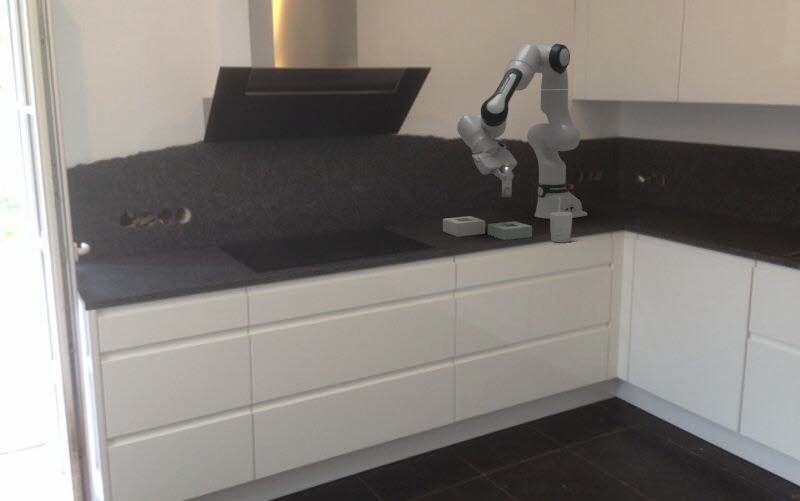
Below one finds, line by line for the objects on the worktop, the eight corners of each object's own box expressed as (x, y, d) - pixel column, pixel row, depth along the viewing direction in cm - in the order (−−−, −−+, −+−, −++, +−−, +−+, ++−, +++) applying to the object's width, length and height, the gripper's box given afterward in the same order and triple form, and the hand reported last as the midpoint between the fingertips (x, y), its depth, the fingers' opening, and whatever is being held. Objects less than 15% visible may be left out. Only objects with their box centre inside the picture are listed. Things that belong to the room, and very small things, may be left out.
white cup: (553, 238, 274) (554, 211, 272) (574, 239, 270) (575, 212, 268) (546, 242, 268) (546, 214, 265) (567, 243, 264) (568, 216, 261)
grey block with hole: (470, 228, 296) (470, 216, 295) (485, 233, 285) (485, 220, 284) (443, 231, 291) (442, 218, 290) (457, 236, 281) (457, 223, 279)
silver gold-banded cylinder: (508, 195, 280) (508, 163, 277) (513, 196, 276) (513, 164, 274) (500, 196, 278) (500, 164, 276) (505, 197, 275) (505, 164, 272)
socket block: (514, 231, 288) (515, 221, 287) (532, 236, 277) (532, 226, 276) (487, 234, 283) (487, 224, 282) (503, 240, 272) (504, 229, 272)
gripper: (475, 147, 270) (497, 176, 266) (506, 143, 285) (528, 170, 281) (465, 159, 274) (487, 187, 270) (497, 154, 289) (518, 181, 285)
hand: (508, 178), depth 276 cm, fingers closed on silver gold-banded cylinder, 4 cm apart
